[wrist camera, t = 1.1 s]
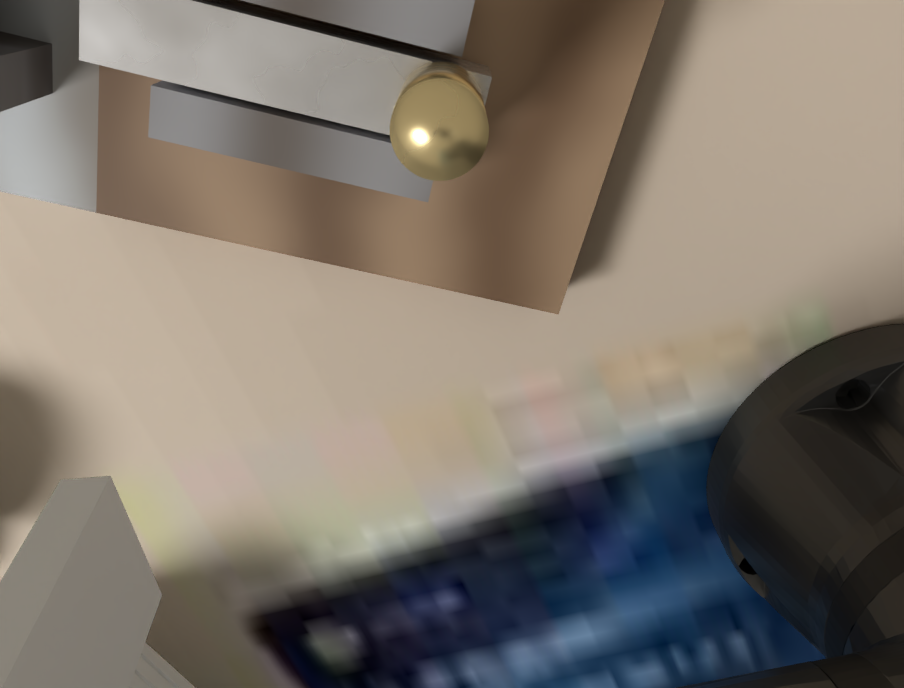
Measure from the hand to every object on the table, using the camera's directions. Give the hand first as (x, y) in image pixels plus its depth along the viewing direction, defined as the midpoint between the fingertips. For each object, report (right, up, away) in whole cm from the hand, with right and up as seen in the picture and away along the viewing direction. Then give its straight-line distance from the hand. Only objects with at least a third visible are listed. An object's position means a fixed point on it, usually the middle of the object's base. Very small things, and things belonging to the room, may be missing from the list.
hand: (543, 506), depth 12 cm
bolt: (-6, +12, +13) cm, 18 cm away
